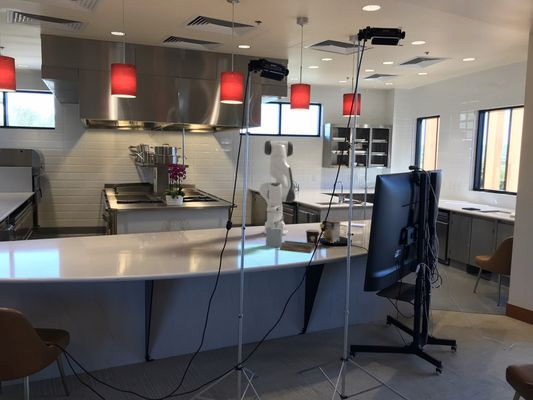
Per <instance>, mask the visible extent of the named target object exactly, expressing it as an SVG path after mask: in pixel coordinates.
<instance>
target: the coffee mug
mask: <svg viewBox="0 0 533 400" xmlns="http://www.w3.org/2000/svg"><path fill="white" fill-rule="evenodd" d="M305 232H306V233H305V234H306V236H305V237H306V243H315V246H316V244H317V245H318V242H319V241H321V240H323V239H324V232H319V230H318V229H306V230H305ZM321 233H322V236H323V237H321V238H319V236H320V235H321Z"/></svg>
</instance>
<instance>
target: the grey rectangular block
mask: <svg viewBox="0 0 533 400" xmlns="http://www.w3.org/2000/svg"><path fill="white" fill-rule="evenodd" d="M265 236H266V237H265V246H266V247H273V246H274V248H280V247H281V243H282V242H283V235H282V228H274V229H273V230H271V228H270V227H267V228H266V234H265Z"/></svg>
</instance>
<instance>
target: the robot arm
mask: <svg viewBox="0 0 533 400" xmlns="http://www.w3.org/2000/svg"><path fill="white" fill-rule="evenodd" d="M262 148H263V149H262V150H263V153H264V154H265V155H267V156H270V161H269V162H270V163H269V175H270V176H271V177H272V178H274V179H275V182H265V183H264V182H263V183H261V184H260V186H259V190H258V191H259V195H261V197H263V198H264V199H265V201H266V204H267V207H266V212H267V213H266V221H265V222H264V230H263V231H262V234H264V235H266V228H267V227H270V228H271V230H273V229H274V228H282V236H287V234H288V233H289V230H287V229H286V224H285V222H284V214H283V210H284V209H283V207H284V206H283V203H293V202H294V201H295V200H296V197H297V195H296V190H295V187H294V179H293V173H292V168H291V165H289V164H288V163H287V158H289V157H290V156H293V155H294V151H295V146H294V143H293V142H292V141H285V140H267V141H265V142H264V144H263V147H262Z"/></svg>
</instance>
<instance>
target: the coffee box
mask: <svg viewBox="0 0 533 400" xmlns="http://www.w3.org/2000/svg"><path fill="white" fill-rule="evenodd" d="M325 221H326V223H325V222H324V228H325V230H324V229H323V231H324V232H323V234H324V235H323V236H324V237H323V241H324V240H326V241H328V242H330V243H334V242H337V241H339V242H340V233H341V222H340V221H338V220H337V221H336V220H331V219H329V220H327V219H326V220H325Z"/></svg>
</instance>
